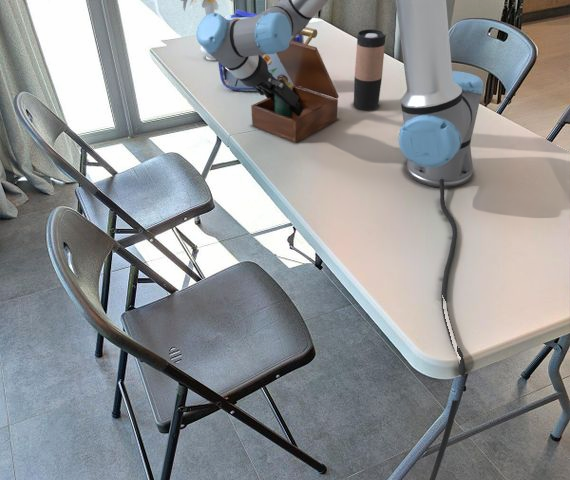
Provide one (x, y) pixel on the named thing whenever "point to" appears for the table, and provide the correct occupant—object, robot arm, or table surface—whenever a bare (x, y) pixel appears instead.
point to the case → (311, 119)
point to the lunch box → (271, 59)
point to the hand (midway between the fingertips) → (292, 108)
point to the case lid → (307, 65)
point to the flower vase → (209, 6)
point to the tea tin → (283, 104)
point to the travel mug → (368, 69)
